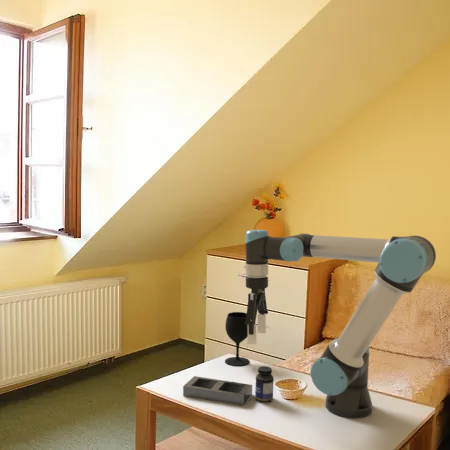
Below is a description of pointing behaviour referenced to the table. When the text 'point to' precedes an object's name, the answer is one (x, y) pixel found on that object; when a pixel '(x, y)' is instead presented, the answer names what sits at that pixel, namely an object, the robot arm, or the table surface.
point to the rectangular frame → (218, 390)
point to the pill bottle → (264, 385)
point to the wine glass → (237, 336)
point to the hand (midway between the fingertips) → (256, 338)
